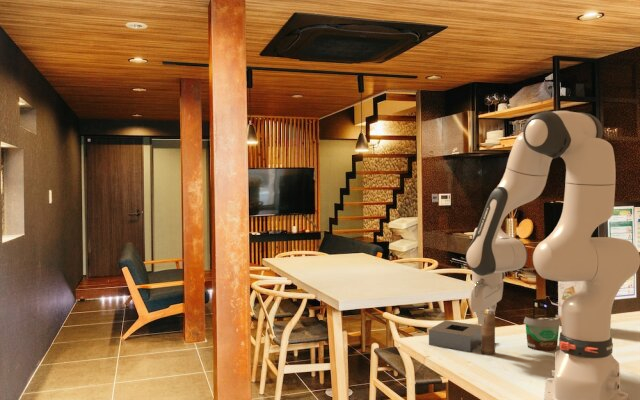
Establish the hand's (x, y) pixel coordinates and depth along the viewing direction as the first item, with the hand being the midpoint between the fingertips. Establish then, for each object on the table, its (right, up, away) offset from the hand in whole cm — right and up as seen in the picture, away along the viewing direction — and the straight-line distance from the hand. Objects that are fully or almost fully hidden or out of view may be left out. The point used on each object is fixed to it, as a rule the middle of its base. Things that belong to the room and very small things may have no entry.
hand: (486, 320), depth 165 cm
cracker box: (+41, -9, +25) cm, 49 cm away
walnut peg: (0, -10, 0) cm, 10 cm away
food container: (+20, -10, +3) cm, 23 cm away
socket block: (-6, -10, +11) cm, 16 cm away
